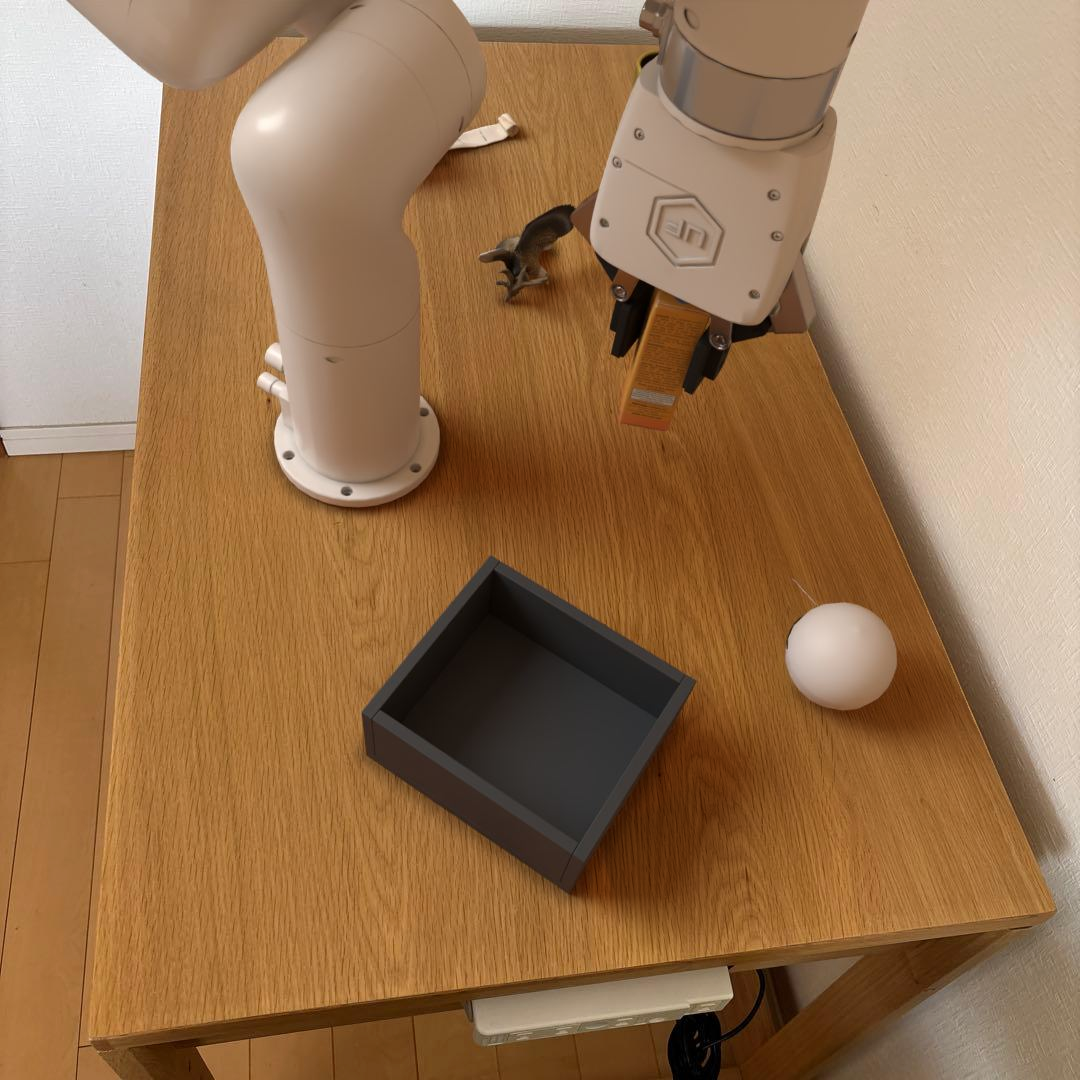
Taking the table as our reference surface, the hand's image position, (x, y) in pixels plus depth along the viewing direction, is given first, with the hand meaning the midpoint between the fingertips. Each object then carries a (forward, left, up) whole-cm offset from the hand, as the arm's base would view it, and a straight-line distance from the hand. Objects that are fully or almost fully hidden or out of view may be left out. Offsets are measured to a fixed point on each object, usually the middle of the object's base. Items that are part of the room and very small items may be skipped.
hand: (663, 357), depth 59 cm
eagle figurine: (-21, +21, -21) cm, 37 cm away
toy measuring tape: (-38, +29, -21) cm, 52 cm away
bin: (+3, -16, -21) cm, 27 cm away
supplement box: (0, 0, -5) cm, 5 cm away
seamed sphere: (+17, +1, -21) cm, 27 cm away
